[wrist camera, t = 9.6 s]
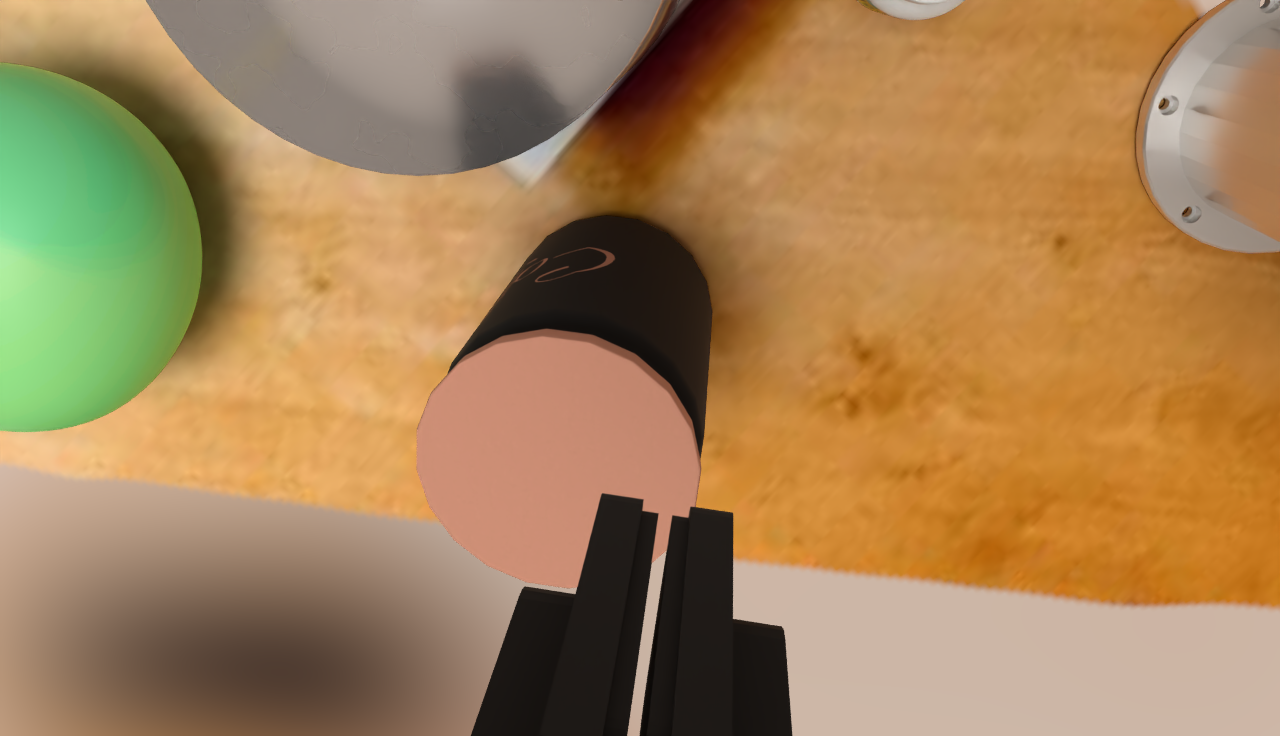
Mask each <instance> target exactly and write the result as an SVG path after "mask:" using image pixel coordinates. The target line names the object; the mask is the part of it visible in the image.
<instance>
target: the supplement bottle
mask: <svg viewBox="0 0 1280 736" xmlns="http://www.w3.org/2000/svg"><path fill="white" fill-rule="evenodd" d="M857 1H858V2H859V3H860V4H862V5H863V6H865V7H866V8H868V9H870V10H872V11H875V12H879V13H882V14H885V15H889V16H892V17H896V18H900V19H905V20H925V19H930V18H934V17H937V16H940V15H943V14H945V13H947V12H949V11H951V10H952V9H954V8H956V7H957V6H959V5H960V4H961V3H962V2H964V1H965V0H857Z"/></svg>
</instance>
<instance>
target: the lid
mask: <svg viewBox="0 0 1280 736" xmlns="http://www.w3.org/2000/svg"><path fill="white" fill-rule="evenodd" d="M146 2H147V3H148V5H149V6H150V8H151V9H152V11H153V12H154V14H155V15H156V17H157V19H158V20H159V22H160V23H161V25H162V26H163V28H164V29H165V31H166V32H167V34H168V35H169V37H170V38H171V39H172V40H173V42H174V43H175V44H176V45H177V47H178V48H179V49H180V50H181V51H182V53H183V54H184V55H185V56H186V58H187V59H188V60H189V61H190V63H191V64H192V65H193V66H194V67H195V68H196V69H197V70H198V71H199V72H200V73H201V74H202V75H203V76H204V77H205V78H206V79H207V80H208V81H209V82H210V83H211V84H212V85H213V86H214V87H215V88H216V89H217V90H218V91H219V92H220V93H221V94H222V95H223V96H224V97H225V98H226V99H228V100H229V101H230V102H231V103H233V104H234V105H235V106H236V107H238V108H239V109H240V110H241V111H243V112H244V113H245V114H246V115H248V116H249V117H250V118H251V119H253V120H254V121H256V122H257V123H259V124H261V125H262V126H264V127H265V128H267V129H268V130H270V131H272V132H273V133H275V134H276V135H278V136H279V137H281V138H283V139H284V140H286V141H289V142H291V143H293V144H295V145H297V146H299V147H301V148H303V149H305V150H307V151H309V152H311V153H313V154H316V155H318V156H321V157H324V158H327V159H330V160H333V161H336V162H339V163H342V164H345V165H348V166H351V167H356V168H361V169H365V170H370V171H375V172H380V173H387V174H401V175H415V176H423V175H438V174H453V173H458V172H463V171H468V170H472V169H477V168H482V167H486V166H489V165H492V164H495V163H498V162H501V161H503V160H506V159H509V158H512V157H515V156H517V155H519V154H521V153H523V152H525V151H527V150H529V149H531V148H533V147H535V146H537V145H539V144H540V143H542V142H544V141H546V140H548V139H550V138H551V137H552V136H554V135H555V134H557V133H558V132H559V131H561V130H562V129H564V128H565V127H566V126H568V125H569V124H571V123H572V122H573V121H575V120H576V119H578V118H579V117H580V116H581V115H582V114H583V113H584V112H585V111H586V110H587V109H588V108H589V107H590V106H591V105H593V104H594V103H595V102H596V101H597V100H598V99H599V98H600V97H601V96H602V95H603V94H604V93H605V92H606V91H607V90H608V89H609V88H610V87H611V86H612V85H613V83H614V82H615V81H616V80H617V78H618V77H619V76H620V75H621V73H622V72H623V71H624V70H625V68H626V67H627V66H628V65H629V63H630V62H631V61H632V60H633V58H634V56H635V55H636V53H637V51H638V50H639V48H640V46H641V45H642V43H643V42H644V40H645V38H646V37H647V35H648V33H649V32H650V30H651V28H652V26H653V24H654V22H655V20H656V18H657V15H658V13H659V11H660V9H661V6H662V4H663V2H664V0H146Z"/></svg>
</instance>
